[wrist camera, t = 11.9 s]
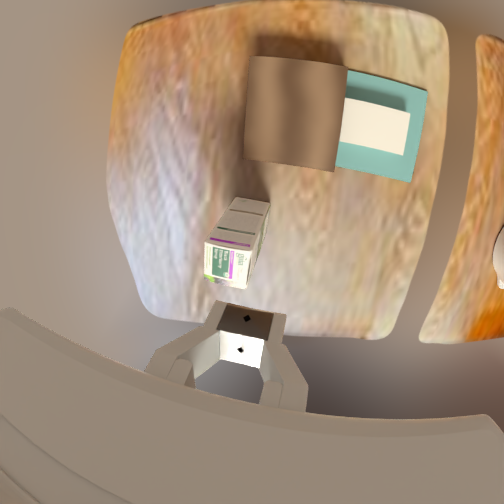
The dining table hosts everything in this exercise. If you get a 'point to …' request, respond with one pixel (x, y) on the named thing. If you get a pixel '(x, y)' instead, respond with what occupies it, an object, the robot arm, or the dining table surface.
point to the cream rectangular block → (374, 126)
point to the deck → (294, 112)
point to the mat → (392, 97)
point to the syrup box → (236, 243)
